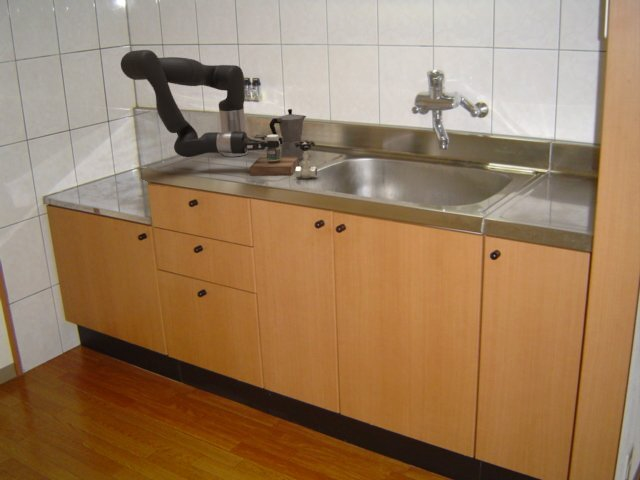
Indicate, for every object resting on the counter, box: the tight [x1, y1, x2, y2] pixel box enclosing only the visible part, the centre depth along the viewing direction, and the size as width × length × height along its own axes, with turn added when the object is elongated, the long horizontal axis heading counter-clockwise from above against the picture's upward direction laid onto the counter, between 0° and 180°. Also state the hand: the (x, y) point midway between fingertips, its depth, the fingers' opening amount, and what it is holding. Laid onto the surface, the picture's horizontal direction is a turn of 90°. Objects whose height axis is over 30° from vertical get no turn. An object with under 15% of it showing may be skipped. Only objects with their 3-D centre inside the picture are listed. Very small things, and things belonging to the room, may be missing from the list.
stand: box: [249, 156, 300, 177], centre depth 252 cm, size 14×14×3 cm
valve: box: [294, 140, 318, 180], centre depth 238 cm, size 7×7×12 cm
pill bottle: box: [266, 134, 281, 161], centre depth 250 cm, size 5×5×8 cm
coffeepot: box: [268, 108, 307, 161], centre depth 265 cm, size 15×9×18 cm, turn 125°
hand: (280, 142), depth 249 cm, fingers closed on pill bottle, 4 cm apart
